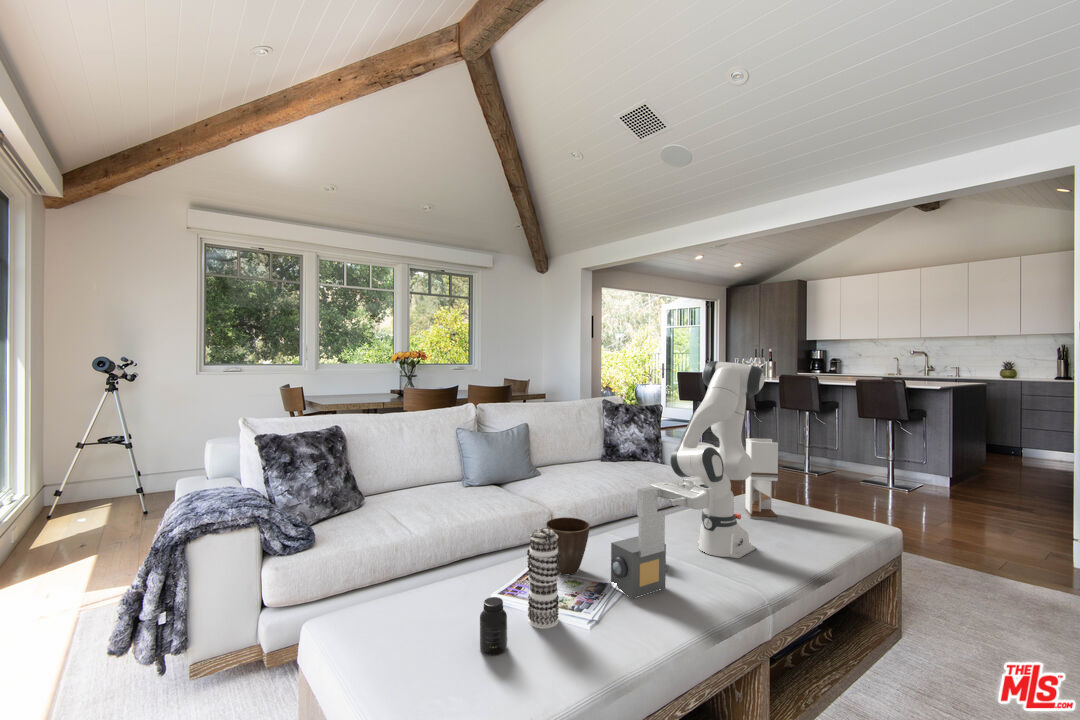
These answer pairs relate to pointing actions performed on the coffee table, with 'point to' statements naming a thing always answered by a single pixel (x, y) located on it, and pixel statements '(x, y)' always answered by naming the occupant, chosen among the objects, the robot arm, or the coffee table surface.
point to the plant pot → (570, 542)
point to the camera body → (636, 568)
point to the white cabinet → (761, 478)
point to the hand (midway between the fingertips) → (660, 498)
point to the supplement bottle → (493, 627)
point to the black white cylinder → (543, 578)
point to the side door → (650, 523)
